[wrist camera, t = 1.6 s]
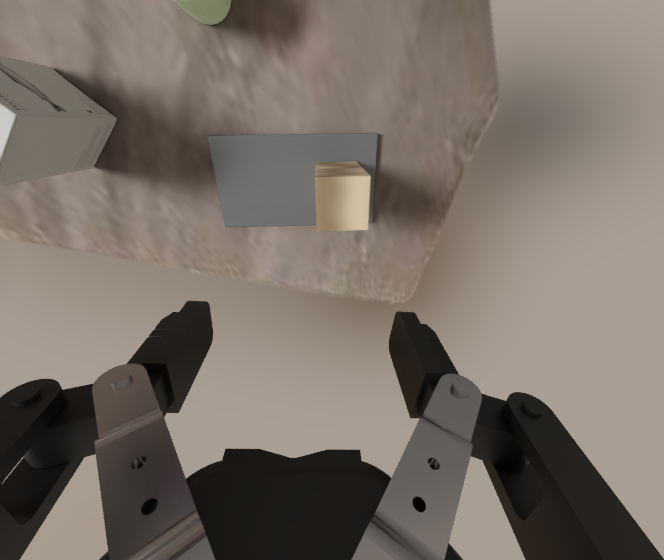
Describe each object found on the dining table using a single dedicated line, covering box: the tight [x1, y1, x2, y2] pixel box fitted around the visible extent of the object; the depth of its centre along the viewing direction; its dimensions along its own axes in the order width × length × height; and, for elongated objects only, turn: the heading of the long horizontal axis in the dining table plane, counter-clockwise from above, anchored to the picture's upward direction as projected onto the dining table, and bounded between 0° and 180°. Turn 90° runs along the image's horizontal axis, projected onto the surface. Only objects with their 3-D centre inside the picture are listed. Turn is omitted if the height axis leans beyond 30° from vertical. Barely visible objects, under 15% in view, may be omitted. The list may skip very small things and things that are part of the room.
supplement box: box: [0, 56, 117, 186], centre depth 27 cm, size 7×7×13 cm
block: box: [315, 161, 371, 231], centre depth 32 cm, size 5×5×11 cm
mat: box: [207, 133, 378, 227], centre depth 37 cm, size 20×11×1 cm, turn 91°
